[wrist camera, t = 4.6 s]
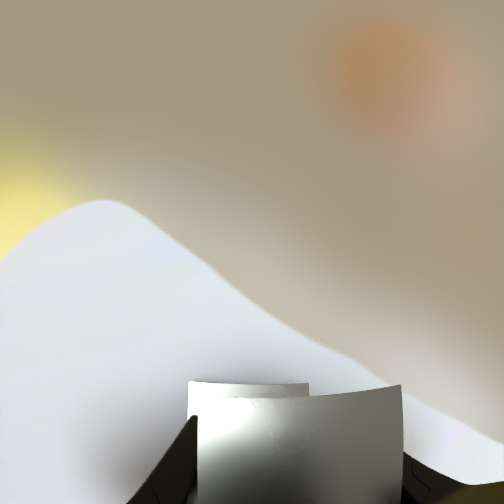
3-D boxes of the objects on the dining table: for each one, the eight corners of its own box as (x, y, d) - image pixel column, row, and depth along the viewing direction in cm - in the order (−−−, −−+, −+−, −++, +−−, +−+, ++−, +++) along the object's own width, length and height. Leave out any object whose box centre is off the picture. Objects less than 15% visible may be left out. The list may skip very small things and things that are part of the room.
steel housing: (302, 483, 12) (420, 551, 3) (188, 486, 11) (159, 592, 2) (302, 384, 15) (425, 341, 6) (190, 382, 15) (151, 342, 5)
